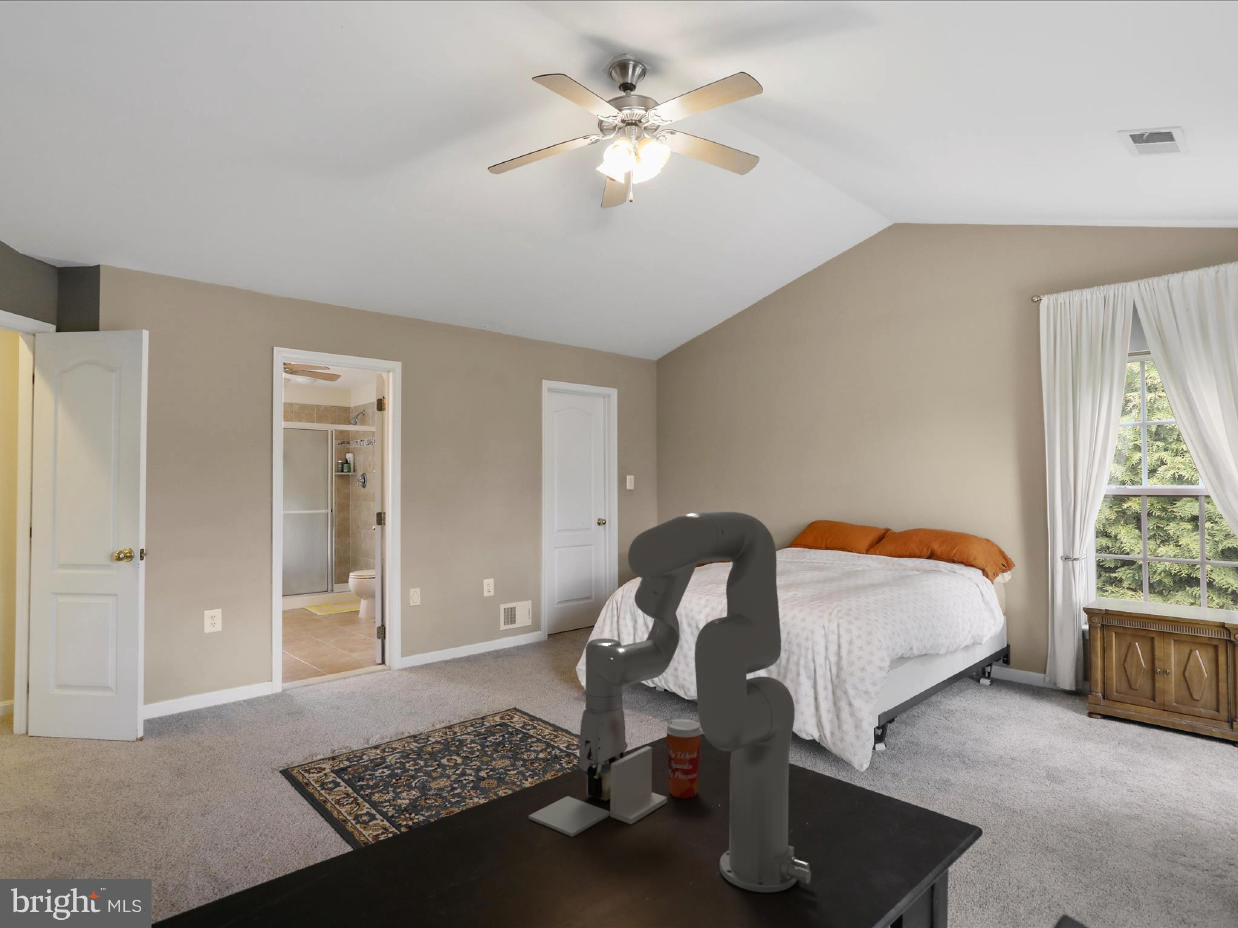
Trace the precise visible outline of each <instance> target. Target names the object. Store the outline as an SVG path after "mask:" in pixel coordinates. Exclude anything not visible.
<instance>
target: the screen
mask: <svg viewBox="0 0 1238 928" xmlns="http://www.w3.org/2000/svg"><path fill="white" fill-rule="evenodd" d="M652 770H653V747H651V746H649V745H648V746H645V747H642V748H640V749H638V750H635V751H634V752H632V753H630V754H627V755H626V756H623V758H622V759H620V760H618V761H616V762H614V763H611V798H610V804H609V807H610V808H609V810H610V811H609V812H610V815H609V816H610V818H612V819H616V820H618V821H622V823H623V822H624V823H626V824H629V825H633V824H634V823H636V822H637V821H639V820H641V819H642V818H644V817H646V816H647V815H648V814H650V813H652V812H654V811H656V810H657V809H658V808H661V807H662V806H663V805H665V804H666V803H668V797H667V796H665V795H660V794H658V793H655V792H654V791H653V792H652V789H653V788H652V787H653V786H652V777H653V776H652V775H653V774H652V773H653V771H652Z"/></svg>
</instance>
